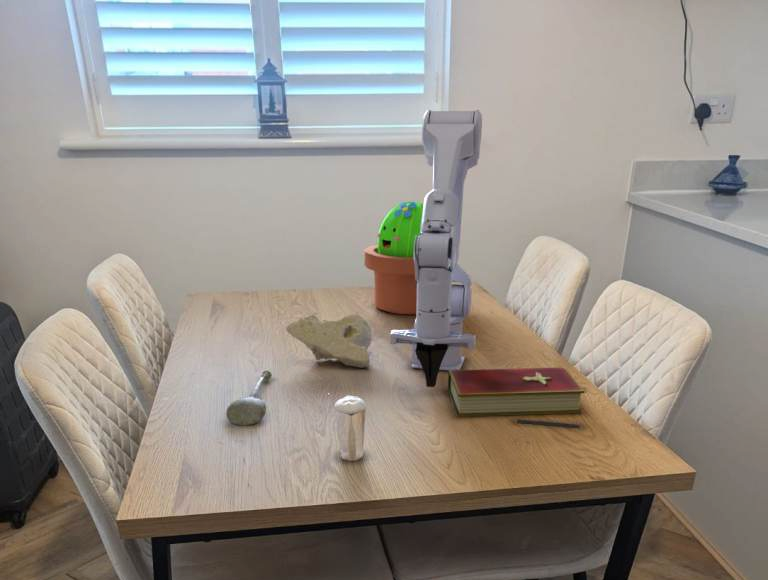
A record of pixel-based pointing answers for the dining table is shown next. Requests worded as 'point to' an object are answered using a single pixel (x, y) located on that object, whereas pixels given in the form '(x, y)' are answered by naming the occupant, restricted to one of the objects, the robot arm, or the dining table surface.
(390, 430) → the dining table surface
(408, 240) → the potted cactus
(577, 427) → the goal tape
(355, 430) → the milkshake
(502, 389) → the hardcover book
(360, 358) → the beige rock fragment
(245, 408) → the soupspoon
